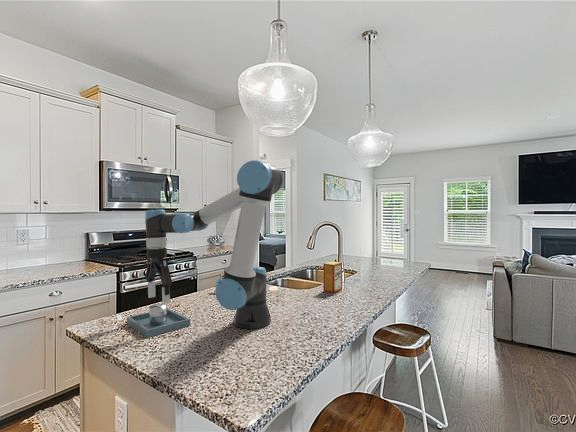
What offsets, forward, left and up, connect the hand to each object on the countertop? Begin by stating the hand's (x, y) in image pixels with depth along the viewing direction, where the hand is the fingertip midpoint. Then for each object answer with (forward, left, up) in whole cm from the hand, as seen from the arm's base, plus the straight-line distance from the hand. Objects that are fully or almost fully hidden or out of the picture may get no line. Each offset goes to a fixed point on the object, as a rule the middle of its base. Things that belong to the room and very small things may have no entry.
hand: (158, 300), depth 131 cm
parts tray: (0, 0, -10) cm, 10 cm away
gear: (+24, -48, -10) cm, 55 cm away
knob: (0, 0, -9) cm, 9 cm away
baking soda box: (-19, -92, -10) cm, 94 cm away
